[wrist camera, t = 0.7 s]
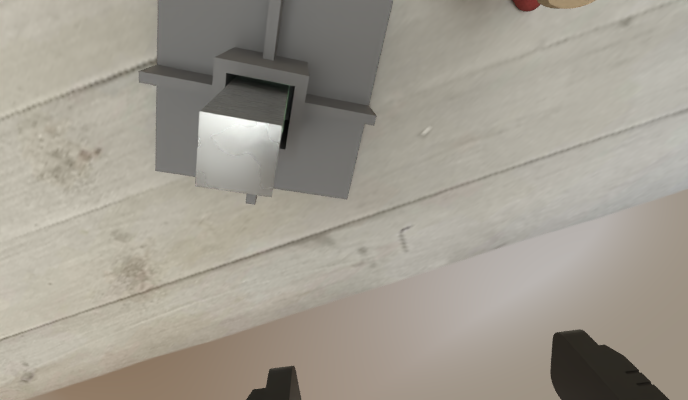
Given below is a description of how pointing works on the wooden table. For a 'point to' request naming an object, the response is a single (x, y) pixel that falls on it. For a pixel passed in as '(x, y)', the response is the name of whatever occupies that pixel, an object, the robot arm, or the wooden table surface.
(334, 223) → the wooden table surface
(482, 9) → the wooden table surface
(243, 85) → the column
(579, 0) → the handle
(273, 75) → the stand
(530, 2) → the pliers
